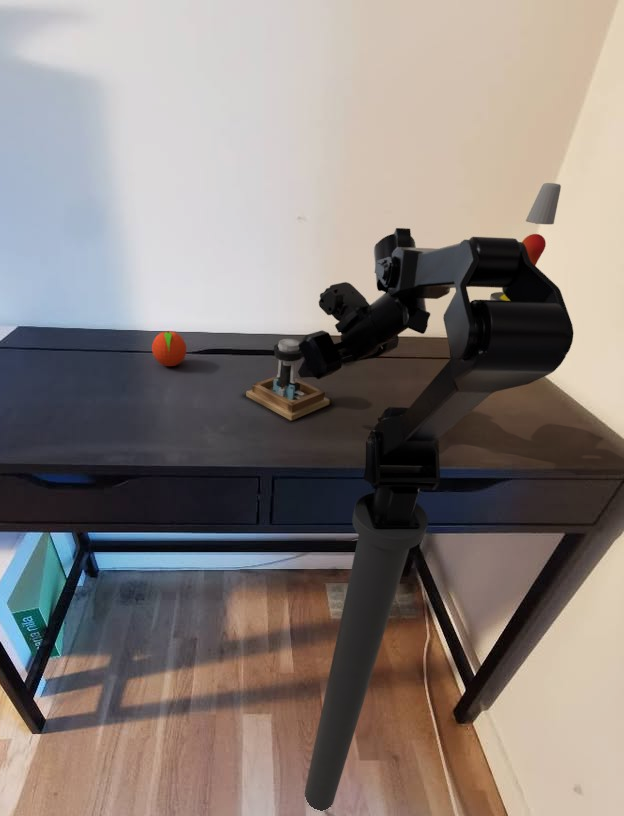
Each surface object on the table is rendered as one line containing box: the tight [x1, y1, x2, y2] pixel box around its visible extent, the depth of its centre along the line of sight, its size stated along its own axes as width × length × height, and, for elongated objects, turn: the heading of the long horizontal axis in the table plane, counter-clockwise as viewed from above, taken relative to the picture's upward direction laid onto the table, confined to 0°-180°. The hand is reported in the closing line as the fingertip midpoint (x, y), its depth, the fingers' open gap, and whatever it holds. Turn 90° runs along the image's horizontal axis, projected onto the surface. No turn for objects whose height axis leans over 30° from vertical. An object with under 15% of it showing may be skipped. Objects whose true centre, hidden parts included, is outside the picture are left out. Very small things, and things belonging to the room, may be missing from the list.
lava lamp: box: [489, 182, 562, 301], centre depth 98 cm, size 9×9×35 cm
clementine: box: [151, 330, 187, 367], centre depth 100 cm, size 8×7×7 cm
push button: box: [273, 338, 304, 400], centre depth 88 cm, size 7×5×10 cm
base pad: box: [246, 375, 331, 421], centre depth 90 cm, size 12×10×2 cm
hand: (318, 367), depth 82 cm, fingers open, 9 cm apart
